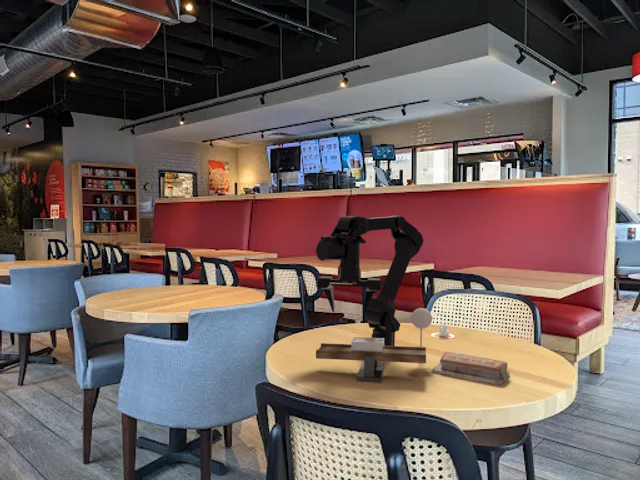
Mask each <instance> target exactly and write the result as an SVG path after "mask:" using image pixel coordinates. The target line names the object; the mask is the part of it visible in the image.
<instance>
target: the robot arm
mask: <svg viewBox="0 0 640 480" xmlns="http://www.w3.org/2000/svg"><path fill="white" fill-rule="evenodd" d="M380 230H382V231H383V230H390V235H391V237H392V239H394V244H393V245H394V246H393V248H394V252H395V254H394V257H393V260H392V262H391V265H390V267H389V270H388V272H387V275H386V277H385V279H384V282H383V280H382V279H381V278H379V277H377V278H375V277H369V278H367V280H363V279H362V278H361V277H362V270H361V268H360V267H361V266H360V264H361V263H360V261H361V259H360V258H361V257H360V256H361V244H366V243H367V242H366V241H367V240H365V239H364V238H363V237H362V235H365V234H367V233H369V232H371V231H380ZM423 244H424V237H423V235H422V233H421V232H420V231H419V230H418V229H417V228H416V227H415V226H414V225H412V224H411V223H409V222H408V220H406V218H405V217H404V216H403V215H389V216H379V217H364V216H358V215H355V216H354V215H343V216H340V217H339V219H338V220H337V224H336V225H335V227H334V228H333V230H332V232H331V234H330V235H329V236H326V235H323V236H320V240H319V241H318V243H317V246H316V247H315V253H316V256H317V259H318V260H320V261H321V262H323V261H324V262H327V261H339V265H337V266H338V267H337V276H338V277H339V279H334V278H333V276H327V275H321V276H319V277H318V278H317V279H316V283H315V287H316V289H320V291H321V292H323V293H324V295H325V296H326V298H327V300H328V303H329V306H330V309H331V312H332V313H334V312H335V311H336V310H335V309H336V308H335V307H336V305H335V296H334V293H335V292H334V291H335V290H334V289H335V287H334V286H336V287H359V288H361V287H362V288H366V291H365V296H364V297H365V298H364V305H363V314H364V315H365V316H364V317H366V321H367V324H368V327H369V328H370V329H371V328H372V334H371V338H384V346H396V344H395V342H396V340H395V339H396V332H399V330H400V327H401V323H400V322H399V321H398V319H396V317H395V315H396V305H395V300H396V297H397V294H398V292H399V289H400V287H401V285H402V282H403V279H404V277H405V274H406V271H407V270H408V266H409V265H410V261H411V259H413V258H414V257H415V256H416V255H417V254H418V253H419V252H420V251H421V248H422V247H423ZM361 279H362V280H361ZM378 291H379V293H378V295H377V296H376V297H372V296H373V295H374V294H377V292H378Z"/></svg>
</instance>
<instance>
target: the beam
mask: <svg viewBox="0 0 640 480" xmlns="http://www.w3.org/2000/svg"><path fill="white" fill-rule="evenodd" d="M365 355H368V356H374V361H378V362H385V363H386V362H387V363H389V362H390V363H407V364H408V363H409V364H411V363H412V364H427V348H426V347H425V346H422V347H420V346H405V345H403V346H400V345H399V346H398V345H395V346H384V352H361V351H352V349H351V344H350V343H349V344H348V343H347V344H346V343H327V342H326V343H323V342H321V343H320V347H319V348H318V349H316V350H315V359H317V360H319V359H320V360H339V361H340V360H342V361H343V360H345V361H362V362H364V356H365Z"/></svg>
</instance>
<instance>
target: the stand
mask: <svg viewBox="0 0 640 480" xmlns="http://www.w3.org/2000/svg"><path fill="white" fill-rule="evenodd" d="M384 369H385V363H383V362H382V363H381V362H379V361H374V356H368V355H365V356H364V361H362V362H361V365H360V367H359V370H358V372H357V375H356V382H367V383H381V381H382V378H383V374H384Z"/></svg>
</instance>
